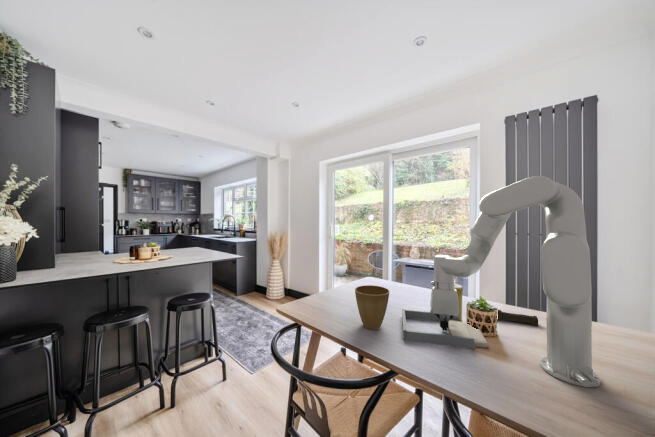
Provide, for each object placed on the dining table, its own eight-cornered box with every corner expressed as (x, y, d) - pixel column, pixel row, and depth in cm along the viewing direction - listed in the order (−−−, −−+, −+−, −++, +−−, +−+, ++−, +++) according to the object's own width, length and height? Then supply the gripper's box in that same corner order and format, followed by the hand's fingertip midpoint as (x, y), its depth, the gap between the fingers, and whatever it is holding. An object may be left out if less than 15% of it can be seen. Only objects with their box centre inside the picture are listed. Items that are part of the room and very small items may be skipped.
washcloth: (475, 328, 102) (475, 320, 102) (489, 350, 85) (489, 341, 85) (445, 324, 106) (445, 317, 106) (452, 344, 89) (452, 336, 89)
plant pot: (388, 336, 94) (388, 296, 94) (351, 331, 99) (351, 293, 99) (391, 321, 108) (390, 286, 108) (358, 317, 113) (358, 283, 113)
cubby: (474, 349, 85) (474, 339, 85) (403, 339, 92) (403, 330, 92) (458, 322, 106) (458, 314, 106) (402, 316, 113) (402, 309, 113)
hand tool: (536, 323, 105) (536, 313, 105) (539, 327, 101) (538, 316, 101) (485, 315, 114) (484, 306, 114) (486, 319, 110) (485, 309, 110)
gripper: (425, 286, 96) (425, 331, 96) (466, 289, 92) (467, 336, 92) (423, 281, 103) (423, 323, 103) (461, 284, 99) (461, 327, 99)
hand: (444, 329), depth 98 cm, fingers closed
